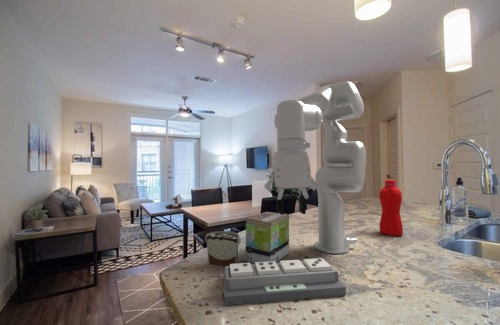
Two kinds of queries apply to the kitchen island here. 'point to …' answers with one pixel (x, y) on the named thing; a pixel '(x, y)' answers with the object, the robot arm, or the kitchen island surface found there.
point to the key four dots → (267, 268)
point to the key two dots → (241, 270)
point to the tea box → (267, 237)
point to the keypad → (281, 286)
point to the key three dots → (317, 265)
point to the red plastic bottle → (391, 209)
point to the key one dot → (292, 266)
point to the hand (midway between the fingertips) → (291, 212)
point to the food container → (222, 248)
